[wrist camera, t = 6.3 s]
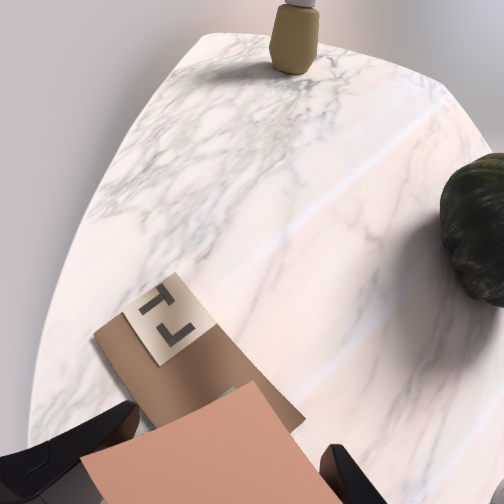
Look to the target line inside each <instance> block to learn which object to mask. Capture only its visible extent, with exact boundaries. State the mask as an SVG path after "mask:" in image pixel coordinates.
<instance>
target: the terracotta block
mask: <svg viewBox="0 0 504 504" xmlns="http://www.w3.org/2000/svg"><path fill="white" fill-rule="evenodd" d="M80 459H81V461H82V463H83V465H84V466H85V468H86V470H87V472H88V474H89V475H90V477H91V479H92V480H93V482H94V484H95V485H96V487H97V489H98V490H99V492H100V493H101V495H102V497H103V498H104V500H105V501H106V503H107V504H343V503H342V502H341V501H340V499H339V498H338V497H337V496H336V494H335V493H334V492H333V491H332V489H331V488H330V487H329V486H328V484H327V483H326V482H325V481H324V479H323V478H322V477H321V475H320V474H319V473H318V472H317V470H316V469H315V468H314V466H313V465H312V464H311V462H310V461H309V460H308V458H307V457H306V456H305V454H304V453H303V452H302V450H301V449H300V447H299V446H298V445H297V443H296V442H295V441H294V439H293V438H292V436H291V435H290V434H289V432H288V431H287V429H286V428H285V426H284V425H283V424H282V422H281V421H280V419H279V418H278V416H277V415H276V413H275V412H274V410H273V409H272V407H271V406H270V405H269V403H268V402H267V400H266V399H265V397H264V396H263V394H262V393H261V391H260V389H259V388H258V386H257V385H256V383H255V382H254V380H252V381H251V382H249V383H247V384H245V385H244V386H242V387H240V388H238V389H237V390H235V391H233V392H231V393H229V394H227V395H226V396H224V397H222V398H220V399H218V400H216V401H214V402H212V403H210V404H208V405H206V406H204V407H202V408H200V409H198V410H196V411H194V412H192V413H190V414H188V415H186V416H184V417H182V418H180V419H178V420H175V421H173V422H171V423H169V424H167V425H164V426H162V427H160V428H158V429H155V430H153V431H151V432H148V433H146V434H143V435H141V436H139V437H136V438H134V439H131V440H129V441H126V442H123V443H121V444H118V445H115V446H113V447H110V448H107V449H104V450H101V451H98V452H95V453H92V454H89V455H86V456H83V457H80Z"/></svg>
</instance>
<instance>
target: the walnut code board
mask: <svg viewBox="0 0 504 504" xmlns="http://www.w3.org/2000/svg"><path fill="white" fill-rule="evenodd" d="M122 311H123V312H122V313H120V314H119V315H118V316H116V317H115V318H114V319H112V320H111V321H110V322H108V323H107V324H105V325H104V326H103V327H101V328H100V329H99V330H98V331H96V332H95V333H94V336H95V338H96V340H97V341H98V343H99V345H100V347H101V348H102V350H103V352H104V353H105V355H106V357H107V358H108V360H109V362H110V363H111V365H112V367H113V368H114V370H115V371H116V373H117V374H118V376H119V377H120V379H121V380H122V382H123V383H124V385H125V386H126V388H127V389H128V391H129V392H130V394H131V395H132V396H133V398H134V399H135V401H136V402H137V403H138V405H139V406H140V408H141V409H142V410H143V412H144V413H145V414H146V416H147V417H148V418H149V419H150V421H151V422H152V423H153V425H154V426H155V427H156V428H157V429H158V428H160V427H162V426H164V425H167V424H169V423H171V422H173V421H175V420H178V419H180V418H182V417H184V416H186V415H188V414H190V413H192V412H194V411H196V410H198V409H200V408H202V407H204V406H206V405H208V404H210V403H212V402H214V401H216V400H218V399H220V398H222V397H224V396H226V395H227V394H229V393H231V392H233V391H235V390H237V389H238V388H240V387H242V386H244V385H245V384H247V383H249V382H251V381H252V380H254V382H255V383H256V385H257V386H258V388H259V389H260V391H261V393H262V394H263V396H264V397H265V399H266V400H267V402H268V403H269V405H270V406H271V407H272V409H273V410H274V412H275V413H276V415H277V416H278V418H279V419H280V421H281V422H282V424H283V425H284V426H285V428H286V429H287V431H288V432H289V434H290V433H291V432H292V431H293V430H294V429H296V428H297V427H298V426H299V425H300V424H301V423H302V422H303V421H304V420H305V419H306V418H305V417H304V416H303V415H302V414H301V413H300V412H299V411H298V410H297V409H296V408H295V407H294V406H293V405H292V404H291V403H290V402H289V401H288V400H287V399H286V398H285V397H284V396H283V395H282V394H281V393H280V392H279V391H278V390H277V389H276V388H275V387H274V386H273V385H272V384H271V383H270V382H269V381H268V380H267V378H266V377H265V376H264V375H263V374H262V373H261V372H260V371H259V370H258V369H257V368H256V367H255V366H254V365H253V363H252V362H251V361H250V360H249V359H248V358H247V357H246V356H245V355H244V354H243V352H242V351H241V350H240V349H239V348H238V347H237V346H236V345H235V343H234V342H233V341H232V340H231V339H230V338H229V337H228V336H227V334H226V333H225V332H224V331H223V330H222V329H221V327H220V326H219V325H218V324H217V322H216V321H215V320H214V319H213V318H212V316H211V315H210V314H209V313H208V312H207V310H206V309H205V308H204V307H203V306H202V304H201V303H200V302H199V301H198V300H197V298H196V297H195V296H194V295H193V293H192V292H191V291H190V290H189V288H188V287H187V286H186V285H185V283H184V282H183V281H182V280H181V278H180V277H179V276H178V275H177V273H176V272H175V273H173V274H172V275H170V276H169V277H168V278H166V279H165V280H163V281H162V282H161V283H159V284H158V285H156V286H155V287H154V288H152V289H151V290H150V291H148V292H147V293H145V294H144V295H143V296H141V297H140V298H139V299H137V300H136V301H134V302H133V303H132V304H130V305H129V306H128V307H126V308H125V309H124V310H122Z"/></svg>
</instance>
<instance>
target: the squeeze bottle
mask: <svg viewBox="0 0 504 504" xmlns="http://www.w3.org/2000/svg"><path fill="white" fill-rule="evenodd" d="M315 1H316V0H285V2H286V3H288V4H283V5H281V6H279V7H278V11H277V15H276V19H275V23H274V28H273V32H272V36H271V41H270V45H269V51H270V55H271V58H272V62H273V66H274V67H275V68H276V69H278V70H279V71H282V72H285V73H291V74H302V73H305V72H307V71H308V69H309V67H310V66H311V64H312V63H313V61H314V60H315V58H316V56H317V42H318V28H319V12H318V11H317V10H315V9H313V8H311V7H315Z"/></svg>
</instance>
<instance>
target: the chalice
mask: <svg viewBox="0 0 504 504" xmlns="http://www.w3.org/2000/svg"><path fill="white" fill-rule="evenodd" d="M491 504H504V479H503V480H502V482H501V483H500V485H499V486H498V488H497V489H496V491H495V493H494V496H493V498H492V501H491Z"/></svg>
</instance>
